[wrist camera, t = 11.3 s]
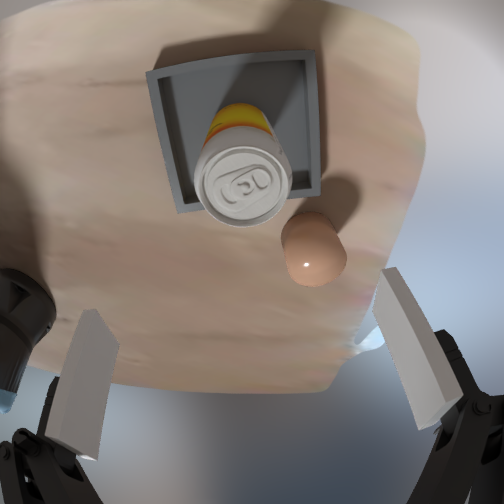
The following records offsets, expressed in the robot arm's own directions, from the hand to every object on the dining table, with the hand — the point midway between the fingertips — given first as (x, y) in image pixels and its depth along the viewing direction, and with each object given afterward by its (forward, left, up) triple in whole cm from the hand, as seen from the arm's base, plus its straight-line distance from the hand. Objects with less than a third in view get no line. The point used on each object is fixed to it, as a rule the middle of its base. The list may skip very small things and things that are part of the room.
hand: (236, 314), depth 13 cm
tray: (+1, +3, -23) cm, 23 cm away
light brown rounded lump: (+8, -12, -23) cm, 27 cm away
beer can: (+1, +2, -22) cm, 22 cm away
